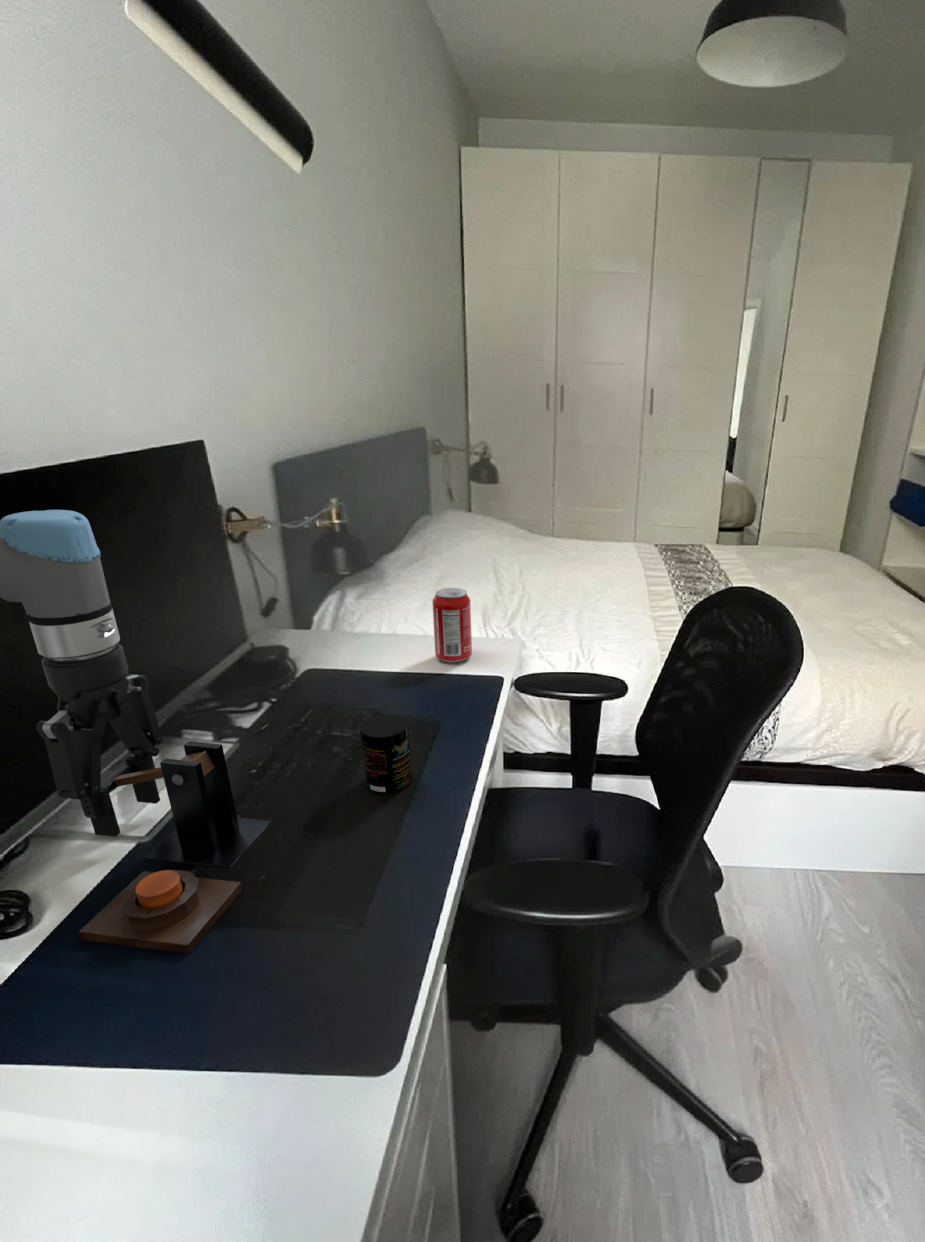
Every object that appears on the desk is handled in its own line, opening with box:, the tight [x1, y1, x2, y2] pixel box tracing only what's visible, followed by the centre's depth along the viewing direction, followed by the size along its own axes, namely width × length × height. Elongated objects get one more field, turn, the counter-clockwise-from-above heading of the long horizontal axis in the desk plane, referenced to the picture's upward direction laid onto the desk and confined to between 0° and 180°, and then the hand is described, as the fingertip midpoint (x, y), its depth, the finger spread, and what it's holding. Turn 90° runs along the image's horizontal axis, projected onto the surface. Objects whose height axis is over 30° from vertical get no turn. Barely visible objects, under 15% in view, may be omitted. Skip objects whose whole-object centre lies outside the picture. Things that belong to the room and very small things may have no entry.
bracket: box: [144, 740, 272, 869], centre depth 80 cm, size 11×9×14 cm
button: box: [136, 869, 183, 909], centre depth 69 cm, size 4×4×2 cm
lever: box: [101, 751, 214, 794], centre depth 79 cm, size 14×6×2 cm, turn 84°
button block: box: [78, 869, 243, 954], centre depth 70 cm, size 12×9×4 cm
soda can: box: [431, 587, 473, 664], centre depth 137 cm, size 8×8×15 cm
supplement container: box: [359, 713, 414, 795], centre depth 94 cm, size 7×7×10 cm
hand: (129, 816), depth 82 cm, fingers closed on lever, 6 cm apart
